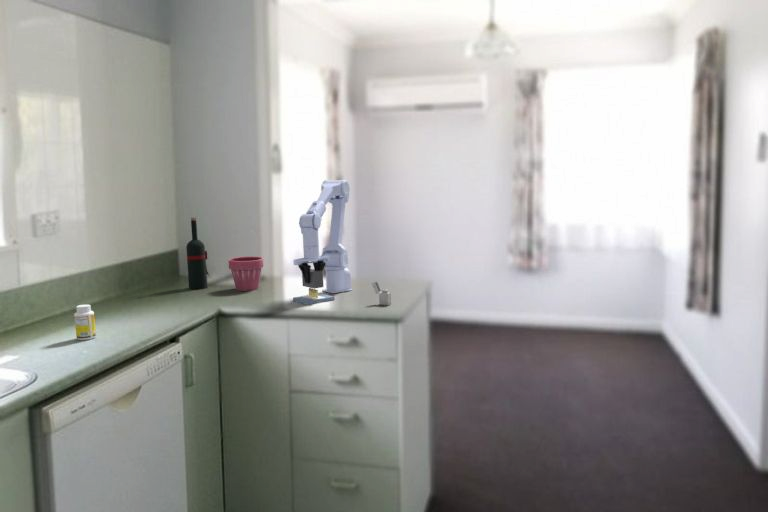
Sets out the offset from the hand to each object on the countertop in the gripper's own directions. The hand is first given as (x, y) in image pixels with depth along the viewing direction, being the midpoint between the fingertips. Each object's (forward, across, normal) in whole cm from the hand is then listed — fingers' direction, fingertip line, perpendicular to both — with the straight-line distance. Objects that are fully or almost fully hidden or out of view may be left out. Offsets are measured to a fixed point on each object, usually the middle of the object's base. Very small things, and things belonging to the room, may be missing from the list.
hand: (312, 282), depth 263 cm
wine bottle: (+7, +18, -62) cm, 65 cm away
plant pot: (+7, +6, -42) cm, 43 cm away
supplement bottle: (+7, +81, -2) cm, 81 cm away
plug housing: (+2, 0, 0) cm, 2 cm away
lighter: (+7, -13, +24) cm, 29 cm away
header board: (+7, 0, 0) cm, 7 cm away
